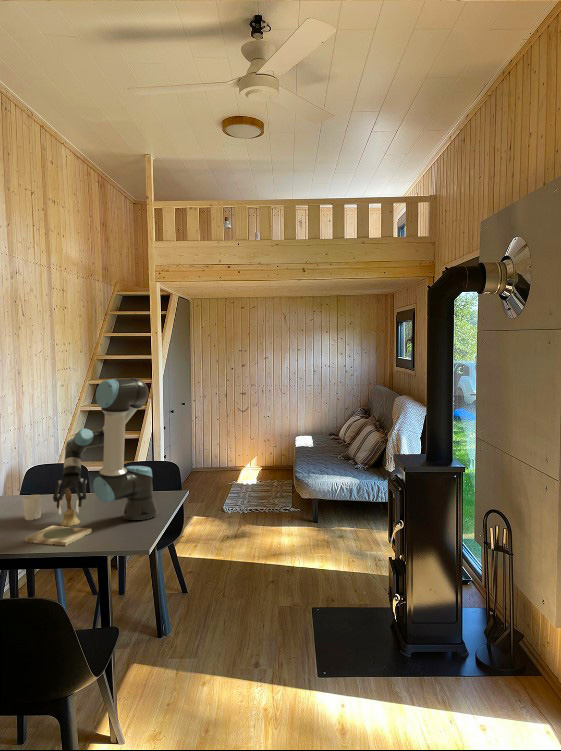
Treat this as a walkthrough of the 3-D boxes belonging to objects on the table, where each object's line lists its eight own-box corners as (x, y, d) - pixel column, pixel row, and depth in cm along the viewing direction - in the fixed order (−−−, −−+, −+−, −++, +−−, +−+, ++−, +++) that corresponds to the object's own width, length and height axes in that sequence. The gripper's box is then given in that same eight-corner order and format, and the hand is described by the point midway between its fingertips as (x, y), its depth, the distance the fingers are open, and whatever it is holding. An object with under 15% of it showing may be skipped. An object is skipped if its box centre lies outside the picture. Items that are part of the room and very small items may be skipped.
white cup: (34, 521, 247) (33, 499, 247) (19, 520, 249) (18, 499, 248) (45, 515, 255) (44, 494, 254) (30, 515, 256) (29, 494, 256)
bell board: (91, 532, 230) (91, 528, 229) (66, 545, 214) (66, 541, 214) (52, 528, 235) (52, 525, 235) (24, 541, 220) (24, 537, 220)
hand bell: (61, 527, 237) (59, 491, 236) (59, 522, 244) (57, 487, 243) (81, 524, 240) (79, 489, 240) (78, 519, 248) (77, 485, 247)
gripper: (94, 472, 258) (92, 515, 243) (51, 475, 254) (46, 520, 239) (93, 463, 253) (90, 507, 238) (48, 466, 249) (43, 511, 234)
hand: (68, 513), depth 238 cm, fingers open, 6 cm apart
